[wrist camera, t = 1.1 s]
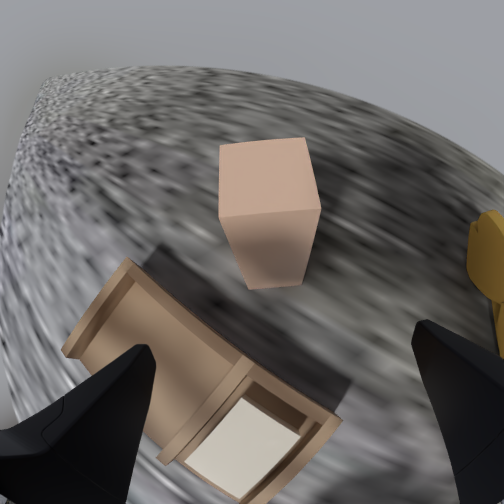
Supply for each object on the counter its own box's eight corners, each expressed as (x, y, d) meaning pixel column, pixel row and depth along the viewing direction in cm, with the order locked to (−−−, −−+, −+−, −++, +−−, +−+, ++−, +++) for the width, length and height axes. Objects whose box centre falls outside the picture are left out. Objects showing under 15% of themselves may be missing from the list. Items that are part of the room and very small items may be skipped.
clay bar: (301, 284, 22) (321, 208, 11) (248, 289, 23) (218, 217, 12) (295, 237, 24) (304, 137, 13) (246, 241, 24) (219, 145, 13)
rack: (250, 502, 15) (246, 519, 12) (81, 353, 21) (60, 349, 18) (334, 412, 18) (343, 420, 15) (143, 269, 24) (126, 256, 21)
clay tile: (242, 488, 15) (239, 498, 13) (192, 454, 16) (184, 461, 15) (298, 429, 17) (300, 436, 15) (244, 394, 18) (241, 397, 16)
